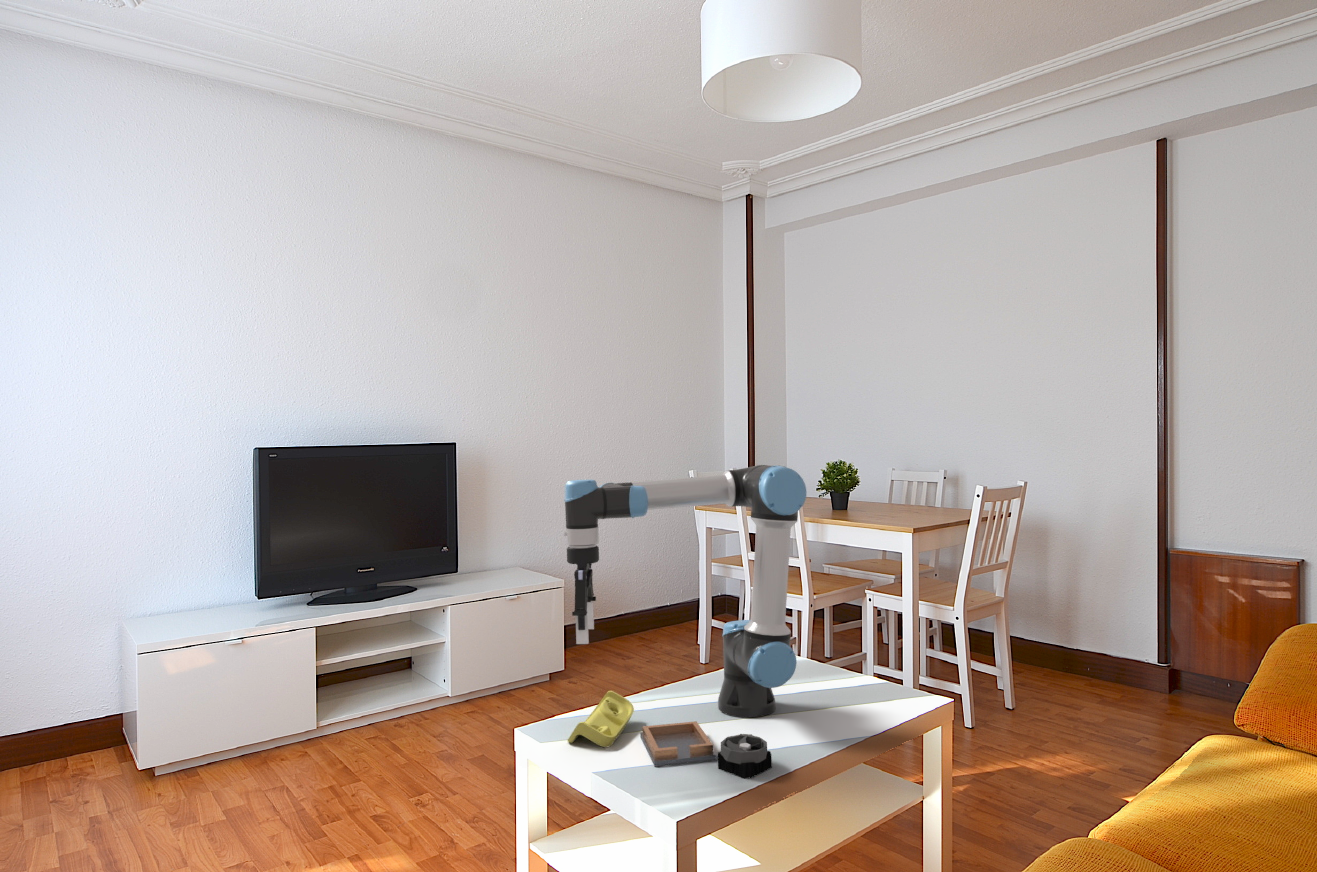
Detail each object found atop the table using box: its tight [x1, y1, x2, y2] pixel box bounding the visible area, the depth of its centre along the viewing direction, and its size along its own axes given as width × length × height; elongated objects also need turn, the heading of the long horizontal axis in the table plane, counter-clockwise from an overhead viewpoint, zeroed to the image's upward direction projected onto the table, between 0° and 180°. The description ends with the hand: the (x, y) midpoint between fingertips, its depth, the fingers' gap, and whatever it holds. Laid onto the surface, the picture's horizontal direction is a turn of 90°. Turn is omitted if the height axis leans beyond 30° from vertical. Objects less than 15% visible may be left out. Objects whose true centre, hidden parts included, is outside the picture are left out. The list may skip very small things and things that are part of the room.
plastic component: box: [567, 690, 635, 748], centre depth 197 cm, size 20×7×10 cm
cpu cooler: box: [717, 733, 773, 779], centre depth 174 cm, size 10×6×10 cm
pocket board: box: [639, 721, 717, 768], centre depth 186 cm, size 14×18×3 cm
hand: (585, 636), depth 187 cm, fingers open, 13 cm apart
